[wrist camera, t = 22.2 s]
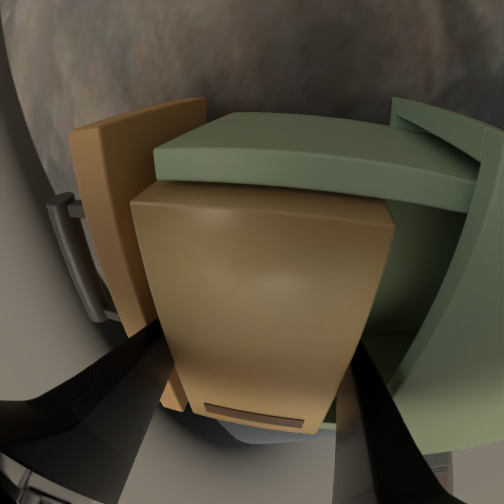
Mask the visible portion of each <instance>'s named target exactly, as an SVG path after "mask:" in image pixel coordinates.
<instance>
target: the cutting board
mask: <svg viewBox="0 0 504 504" xmlns="http://www.w3.org/2000/svg"><path fill="white" fill-rule="evenodd" d="M130 207H131V212H132V217H133V222H134V226H135V231H136V235H137V240H138V244H139V248H140V252H141V256H142V260H143V264H144V268H145V272H146V275H147V279H148V283H149V286H150V290H151V293H152V297H153V300H154V303H155V307H156V310H157V313H158V317H159V320H160V323H161V326H162V329H163V332H164V335H165V338H166V341H167V344H168V347H169V350H170V353H171V356H172V358H173V361H174V364H175V367H176V369H177V372H178V375H179V377H180V380H181V383H182V385H183V388H184V390H185V393H186V395H187V398H188V400H189V403H190V405H191V408H192V410H193V412H194V413H196V414H200V415H204V416H208V417H212V418H216V419H220V420H225V421H230V422H234V423H239V424H244V425H250V426H255V427H261V428H268V429H274V430H281V431H289V432H297V433H307V434H316V433H317V431H318V430H319V428H320V426H321V424H322V422H323V420H324V418H325V416H326V414H327V412H328V410H329V408H330V406H331V404H332V402H333V400H334V398H335V396H336V394H337V391H338V389H339V387H340V384H341V382H342V380H343V378H344V376H345V373H346V371H347V369H348V366H349V364H350V362H351V360H352V358H353V355H354V353H355V350H356V348H357V345H358V343H359V340H360V338H361V335H362V333H363V330H364V327H365V325H366V322H367V319H368V317H369V314H370V311H371V308H372V305H373V302H374V299H375V297H376V294H377V290H378V287H379V284H380V281H381V278H382V275H383V272H384V268H385V265H386V261H387V258H388V254H389V251H390V247H391V244H392V240H393V236H394V232H395V228H396V227H395V223H394V221H393V219H392V216H391V214H390V212H389V210H388V207H387V205H386V203H385V201H384V199H381V198H374V197H367V196H360V195H352V194H344V193H336V192H328V191H319V190H309V189H300V188H289V187H278V186H266V185H253V184H238V183H220V182H199V181H165V180H157V181H156V182H155V183H153V184H152V185H151V186H149V187H148V188H147V189H145V190H144V191H143V192H142V193H140V194H139V195H138V196H136V197H135V198H134V199H133V200H131V202H130Z"/></svg>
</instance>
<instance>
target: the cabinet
mask: <svg viewBox="0 0 504 504" xmlns="http://www.w3.org/2000/svg"><path fill="white" fill-rule="evenodd" d="M390 126H392V127H397V128H402V129H407V130H412V131H416V132H421V133H425V134H429V135H433V136H437V137H440V138H441V139H443V140H445V141H447V142H448V143H450V144H452V145H453V146H455V147H457V148H458V149H460V150H462V151H463V152H465V153H466V154H468V155H469V156H471V157H473V158H474V159H476V160H477V161H479V162H480V163H481V165H480V169H479V174H478V178H477V182H476V186H475V190H474V194H473V198H472V201H471V205H470V208H469V211H468V215H467V218H466V221H465V224H464V227H463V230H462V233H461V236H460V239H459V242H458V245H457V247H456V250H455V253H454V255H453V258H452V261H451V263H450V266H449V268H448V271H447V273H446V275H445V278H444V280H443V282H442V285H441V287H440V289H439V291H438V294H437V296H436V298H435V300H434V302H433V304H432V306H431V308H430V311H429V313H428V315H427V317H426V319H425V321H424V322H423V324H422V326H421V328H420V330H419V332H418V334H417V336H416V338H415V339H414V341H413V343H412V345H411V346H410V348H409V350H408V352H407V353H406V355H405V357H404V359H403V360H402V362H401V364H400V365H399V367H398V368H397V370H396V372H395V373H394V375H393V376H392V378H391V379H390V381H389V383H388V384H387V388H388V390H389V392H390V394H391V396H392V398H393V400H394V402H395V404H396V406H397V408H398V410H399V412H400V414H401V416H402V418H403V420H404V422H405V424H406V426H407V428H408V430H409V432H410V434H411V436H412V438H413V439H414V441H415V443H416V445H417V447H418V448H419V450H420V452H421V453H422V455H426V454H434V453H442V452H448V451H454V450H460V449H465V448H470V447H475V446H479V445H484V444H488V443H492V442H496V441H500V440H503V439H504V130H503V129H500V128H498V127H495V126H493V125H490V124H488V123H485V122H482V121H479V120H477V119H474V118H471V117H468V116H465V115H462V114H459V113H456V112H452V111H449V110H446V109H442V108H439V107H435V106H431V105H428V104H424V103H420V102H416V101H411V100H407V99H402V98H398V97H393V98H392V107H391V117H390Z"/></svg>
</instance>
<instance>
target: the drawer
mask: <svg viewBox="0 0 504 504" xmlns="http://www.w3.org/2000/svg"><path fill="white" fill-rule="evenodd" d="M69 142H70V148H71V153H72V159H73V164H74V169H75V174H76V179H77V183H78V188H79V192H80V196H81V200H75V197H74V194H73V193H72V192H66V193H61V194H59V195H56V196H54V197H53V198H51V199H50V200H49V201H48V202H47V208H48V211H49V215H50V218H51V222H52V225H53V227H54V230H55V234H56V237H57V240H58V243H59V245H60V248H61V251H62V254H63V256H64V259H65V262H66V264H67V267H68V269H69V272H70V274H71V277H72V279H73V281H74V284H75V286H76V289H77V291H78V293H79V295H80V298H81V300H82V302H83V304H84V306H85V309H86V311H87V313H88V315H89V317H90V319H91V320H92V321H94V322H103V321H105V320H107V319H108V318H110V319H113V320H117V321H120V322H122V323H123V326H124V328H125V330H126V333H127V335H128V337H129V338H130V337H131V336H132V335H134V334H135V333H137V332H138V331H139V330H141V329H142V328H144V327H145V326H147V325H148V324H149V323H151V322H152V321H154V320H155V319H156V318H158V313H157V310H156V307H155V303H154V300H153V297H152V293H151V290H150V286H149V283H148V279H147V275H146V272H145V268H144V264H143V260H142V256H141V252H140V248H139V244H138V240H137V235H136V231H135V226H134V222H133V217H132V212H131V207H130V202H131V200H133V199H134V198H135V197H136V196H138V195H139V194H140V193H142V192H143V191H144V190H145V189H147V188H148V187H149V186H151V185H152V184H153V183H155V182H156V181H157V180H165V181H199V182H220V183H238V184H253V185H266V186H278V187H289V188H300V189H309V190H319V191H328V192H336V193H344V194H352V195H360V196H367V197H374V198H381V199H384V201H385V203H386V205H387V207H388V210H389V212H390V214H391V216H392V219H393V221H394V223H395V227H396V228H395V232H394V236H393V240H392V244H391V247H390V251H389V254H388V258H387V261H386V265H385V268H384V272H383V275H382V278H381V281H380V284H379V287H378V290H377V294H376V297H375V299H374V302H373V305H372V308H371V311H370V314H369V317H368V319H367V322H366V325H365V327H364V330H363V333H362V335H361V338H360V339H361V340H362V342H363V344H364V346H365V347H366V349H367V351H368V353H369V355H370V357H371V358H372V360H373V362H374V364H375V366H376V368H377V369H378V371H379V373H380V375H381V377H382V379H383V381H384V383H385V385H386V386H387V384H388V383H389V381H390V379H391V378H392V376H393V375H394V373H395V372H396V370H397V368H398V367H399V365H400V364H401V362H402V360H403V359H404V357H405V355H406V353H407V352H408V350H409V348H410V346H411V345H412V343H413V341H414V339H415V338H416V336H417V334H418V332H419V330H420V328H421V326H422V324H423V322H424V321H425V319H426V317H427V315H428V313H429V311H430V308H431V306H432V304H433V302H434V300H435V298H436V296H437V294H438V291H439V289H440V287H441V285H442V282H443V280H444V278H445V275H446V273H447V271H448V268H449V266H450V263H451V261H452V258H453V255H454V253H455V250H456V247H457V245H458V242H459V239H460V236H461V233H462V230H463V227H464V224H465V221H466V218H467V215H468V211H469V208H470V205H471V201H472V198H473V194H474V190H475V186H476V182H477V178H478V174H479V169H480V165H481V163H480V162H479V161H477V160H476V159H474V158H473V157H471V156H469V155H468V154H466V153H465V152H463V151H462V150H460V149H458V148H457V147H455V146H453V145H452V144H450V143H448V142H447V141H445V140H443V139H441V138H440V137H437V136H433V135H429V134H425V133H421V132H416V131H412V130H407V129H402V128H397V127H392V126H387V125H381V124H375V123H369V122H363V121H356V120H349V119H341V118H333V117H323V116H313V115H301V114H286V113H264V112H233V113H231V114H228V115H226V116H223V117H221V118H219V119H216V120H214V121H212V122H209V123H207V118H206V98H205V97H199V98H184V99H179V100H174V101H170V102H165V103H161V104H157V105H153V106H149V107H145V108H141V109H137V110H133V111H130V112H126V113H123V114H120V115H116V116H113V117H110V118H107V119H103V120H100V121H97V122H94V123H92V124H89V125H86V126H83V127H80V128H78V129H75V130H72V131H71V132H69ZM80 218H86V220H87V223H88V227H89V230H90V234H91V237H92V241H93V244H94V247H95V250H96V253H97V257H98V260H99V263H100V266H101V269H102V271H103V274H104V277H105V280H106V283H107V285H108V288H109V291H110V294H111V296H112V298H113V301H114V304H115V305H114V304H110V303H109V302H108V299H107V297H106V294H105V292H104V289H103V287H102V284H101V281H100V278H99V276H98V273H97V270H96V267H95V264H94V262H93V259H92V256H91V253H90V250H89V246H88V243H87V240H86V237H85V233H84V230H83V227H82V223H81V220H80ZM160 401H161V403H162V404H163V406H164V407H168V408H171V409H174V410H177V411H181V412H183V411H184V409H185V406H186V404H187V402H188V398H187V395H186V393H185V390H184V388H183V385H182V383H181V380H180V377H179V375H178V372H177V369H176V367H175V364H174V368H173V370H172V373H171V375H170V378H169V380H168V382H167V385H166V387H165V389H164V392H163V394H162V396H161V399H160ZM336 402H337V394H336V396H335V398H334V400H333V402H332V404H331V406H330V408H329V410H328V412H327V414H326V416H325V418H324V420H323V422H322V424H321V426H320V428H321V429H335V430H336Z"/></svg>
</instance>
